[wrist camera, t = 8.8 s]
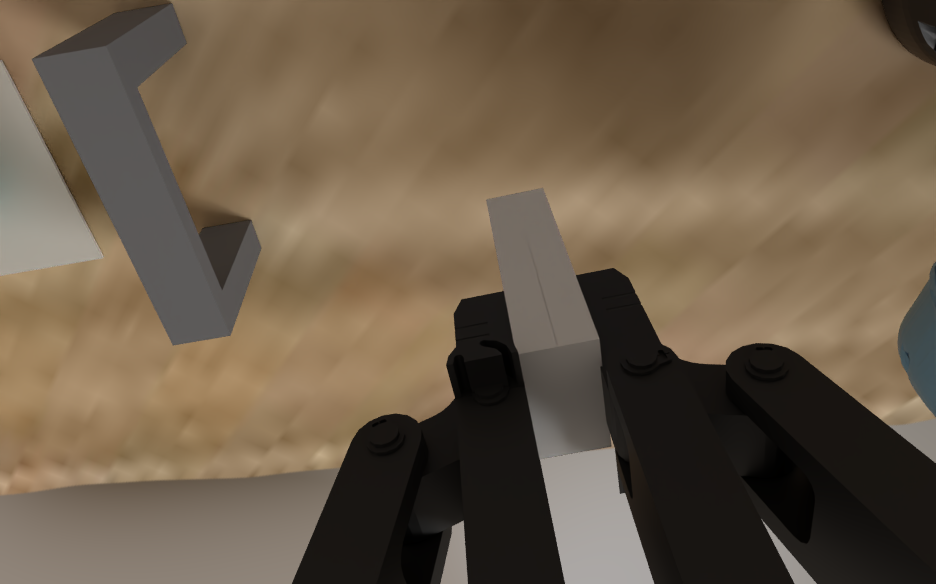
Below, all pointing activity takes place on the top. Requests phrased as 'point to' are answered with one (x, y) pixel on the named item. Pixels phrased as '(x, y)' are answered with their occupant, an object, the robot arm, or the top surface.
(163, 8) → the bridge
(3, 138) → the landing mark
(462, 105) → the top surface
